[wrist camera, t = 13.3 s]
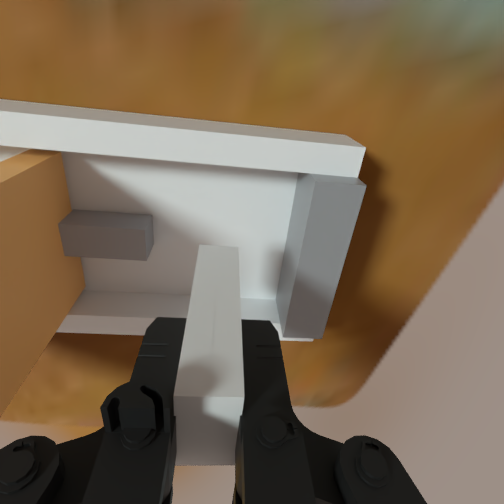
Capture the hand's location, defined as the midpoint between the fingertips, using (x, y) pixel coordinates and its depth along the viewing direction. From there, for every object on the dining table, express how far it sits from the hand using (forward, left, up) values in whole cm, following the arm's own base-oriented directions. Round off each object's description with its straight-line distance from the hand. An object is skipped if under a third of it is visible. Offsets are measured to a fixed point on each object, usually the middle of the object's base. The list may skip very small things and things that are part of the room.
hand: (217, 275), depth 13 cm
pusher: (0, -6, -4) cm, 7 cm away
